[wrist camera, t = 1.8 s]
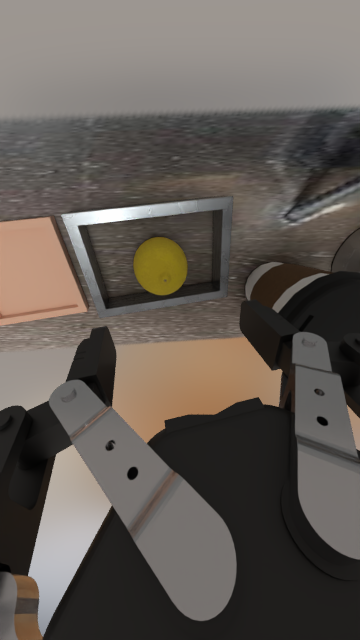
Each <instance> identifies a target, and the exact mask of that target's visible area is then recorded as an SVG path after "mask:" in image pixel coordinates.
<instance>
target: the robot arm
mask: <svg viewBox="0 0 360 640" xmlns="http://www.w3.org/2000/svg"><path fill="white" fill-rule="evenodd" d="M338 271H348V272H358V273H360V229H358V230H357V231H356V232H354V233H353V234H352V235H351V236H350V237H349V238H348V239H347V240H346V241H345V242H344V244H343V245H342V246H341V248H340V249H339V251H338V252H337V254H336V256H335V259H334V261H333V265H332V272H334V273H335V272H338ZM239 324H240V329H241V331H242V333H243V334H244V335H245V337H246V338H247V339H248V341H249V342H250V343H251V344H252V346H253V347H254V348H255V350H256V351H257V352H258V353H259V355H260V356H261V357H262V358H263V360H264V361H265V362H266V364H267V365H268V366H269V367H270V368H271V370H277V369H281V370H282V371H283V372H282V376H281V388H280V402H279V407H276V406H272V405H263V404H262V402H261V400H260V399H259V397H258V398H254V399H249V400H245V401H242V402H237V403H235V404H233V405H232V406H230V407H228V408H226V409H225V410H223V411H221V412H219V413H218V414H215V415H185V416H181V417H177V418H173V419H169V420H165V429H163V430H162V431H160V432H159V433H157V434H156V435H155V436H154V437H153V438H152V439H150V441H149V442H148V443H147V444H146V443H145V442H144V440H142V438H141V437H140V436H139V435H138V434H137V433H136V432H135V431H134V430H133V429H132V428H131V427H130V426H129V425H128V424H127V423H126V422H125V421H124V420H123V419H122V418H121V417H120V415H118V413H117V412H116V411H115V410H114V409H113V408H112V399H113V389H114V377H115V367H116V349H115V346H114V343H113V340H112V337H111V335H110V332H109V329H108V327H107V326H104V327H99V328H93V329H92V331H91V335H90V338H88V339H84V340H83V341H82V342H81V343H80V345H79V346H78V348H77V351H76V355H75V356H74V361H73V362H72V365H71V368H70V371H69V374H68V377H67V380H66V382H65V383H64V384H62V385H60V386H59V387H58V388H57V389H55V390H54V392H53V393H52V394H51V396H50V399H49V401H47V402H45V403H43V404H41V405H38V406H36V407H34V408H32V409H30V410H28V411H26V410H25V409H24V408H23V407H22V406H11V407H8V408H5V409H3V410H1V411H0V640H360V451H359V450H357V449H356V446H355V441H354V437H353V432H352V428H351V423H350V418H349V414H348V409H347V405H348V406H349V407H350V408H351V409H352V410H353V412H354V413H355V414H356V415H357V416H358V417H359V418H360V334H359V333H348V334H346V335H345V336H344V337H343V339H342V342H328V341H325V340H324V339H323V338H322V337H320V336H318V335H316V334H313V333H309V332H300V331H299V330H298V329H296V328H295V327H294V326H293V325H292V324H290V323H289V322H288V321H287V320H286V319H284V318H283V317H282V316H281V315H279V314H278V313H277V312H276V311H275V310H273V309H271V308H269V307H267V306H263V305H262V304H261V303H260V302H258V301H257V300H256V299H254V300H249V301H243V302H242V304H241V313H240V323H239ZM71 445H74V446H75V448H76V449H77V451H78V453H79V454H80V456H81V457H82V459H83V460H84V462H85V464H86V465H87V466H88V468H89V470H90V471H91V473H92V474H93V476H94V477H95V479H96V481H97V482H98V484H99V485H100V487H101V488H102V490H103V491H104V493H105V495H106V496H107V498H108V499H109V501H110V503H111V504H112V506H111V508H110V510H109V512H108V514H107V516H106V518H105V519H104V521H103V523H102V525H101V527H100V529H99V531H98V532H97V534H96V536H95V538H94V540H93V542H92V543H91V546H90V547H89V549H88V551H87V553H86V555H85V557H84V558H83V560H82V562H81V564H80V566H79V568H78V569H77V571H76V574H75V575H74V577H73V579H72V581H71V583H70V584H69V586H68V588H67V590H66V592H65V594H64V595H63V597H62V599H61V601H60V603H59V605H58V607H57V608H56V610H55V612H54V614H53V616H52V618H51V621H50V623H49V625H48V627H47V629H46V632H45V634H44V637H43V636H42V635H41V633H40V630H39V626H38V605H39V590H38V586H37V583H36V581H35V580H34V579H33V578H31V577H29V576H28V572H29V568H30V564H31V560H32V555H33V551H34V547H35V542H36V538H37V534H38V529H39V525H40V521H41V516H42V512H43V508H44V504H45V499H46V495H47V491H48V486H49V482H50V478H51V474H52V469H53V465H54V461H55V456H56V454H57V453H59V452H60V451H62V450H64V449H66V448H67V447H69V446H71Z"/></svg>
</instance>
